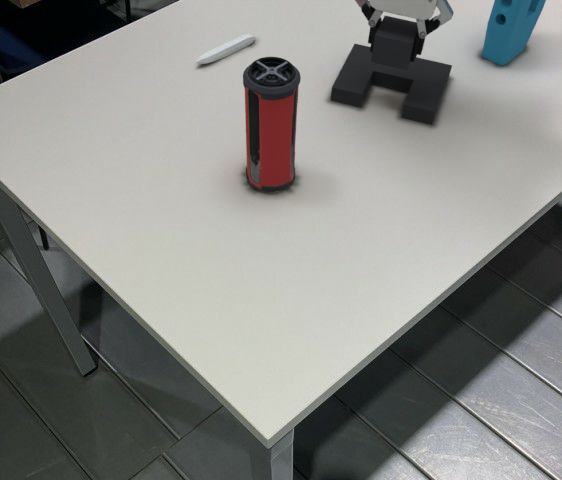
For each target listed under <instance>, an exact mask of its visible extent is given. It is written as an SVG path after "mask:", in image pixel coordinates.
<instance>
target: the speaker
mask: <svg viewBox="0 0 562 480" xmlns="http://www.w3.org/2000/svg"><path fill="white" fill-rule="evenodd" d="M301 79H302V78H301V72H300V70H299V69H298V68H297V67H296V66H295V65H294V64H293V63H291V62H290V61H289V60H288V59H286V58H282V57H279V56H264V57H260V58H258V59H256V60H254V61H253V62H252V63H250V64H249V65H248V66H247V67H245V69H244V70H243V72H242V84H243V88H244V111H245V113H244V114H245V145H246V147H245V149H246V151H245V152H246V167H245V179H246V181H247V183H248V184H249V185H250V186H251V187H252V188H254V189H256V190H257V191H260V192H264V193H279V192H282V191H284V190H286V189H289V188H290V187H291V186H292V185H293V184H294V182H295V180H296V166H295V163H296V161H295V160H296V139H297V138H296V137H297V117H298V103H299V86H300V84H301Z"/></svg>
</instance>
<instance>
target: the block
mask: <svg viewBox="0 0 562 480" xmlns="http://www.w3.org/2000/svg"><path fill="white" fill-rule="evenodd" d="M546 1H547V0H494V2H493V5H492V8H491V12H490V13H489V14H490V15H489V17H488V20H487V26H486V30H485V36H484V42H483V47H482V53H481V56H482V58H484V59H486V60H488V61H489V62H492V63H494V64H496V65H498V66H506V65H508V63H510V62H511V61H512V60H513V59H515V58H516V57H517V56H518V55H520V54H521V53H522V52H523V51H524V50H525V49H526V46H527V45H528V42H529V40H530V38H531V36H532V34H533V31H534V29H535V27H536V25H537V23H538V20H539V19H540V16H541V14H542V12H543V9H544V6H545V5H546Z"/></svg>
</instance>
